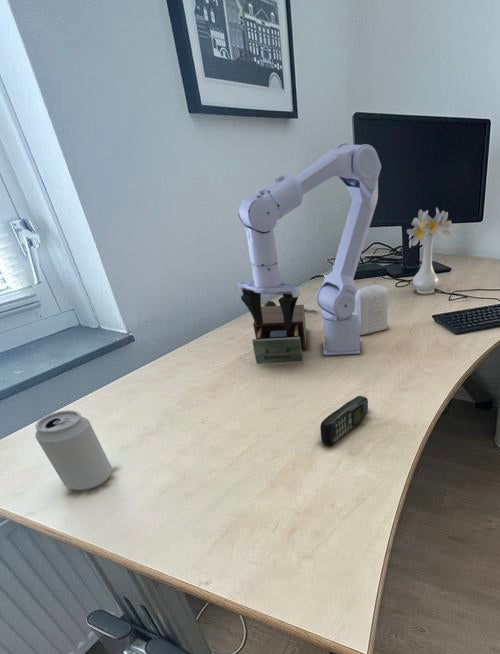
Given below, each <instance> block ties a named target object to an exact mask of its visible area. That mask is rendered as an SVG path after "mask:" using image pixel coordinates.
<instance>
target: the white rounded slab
mask: <svg viewBox="0 0 500 654" xmlns="http://www.w3.org/2000/svg"><path fill="white" fill-rule="evenodd" d="M355 302H356V305H355V310H354V312H353V314H354V315H358V319H359V336H365V335H368V334H371V333H375V332H381V331H383V330H387V329H388V314H389V313H388V311H389V309H388V308H389V307H388V305H389V293H388V289H387V287H386V286H383V285H379V284H371V285H367V286H364V287H361V288H360V289H357V293H356V296H355Z"/></svg>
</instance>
